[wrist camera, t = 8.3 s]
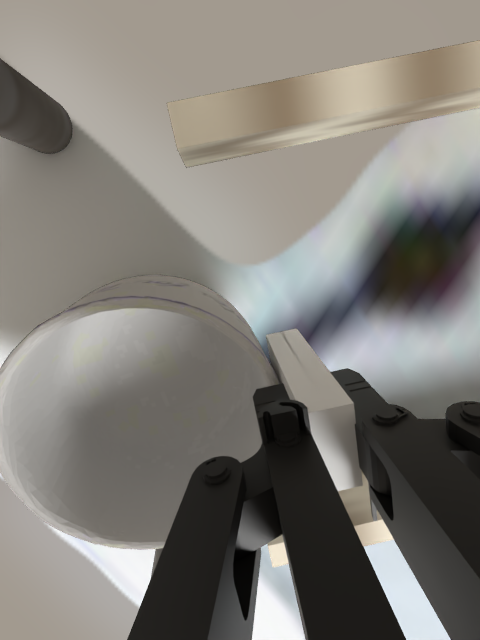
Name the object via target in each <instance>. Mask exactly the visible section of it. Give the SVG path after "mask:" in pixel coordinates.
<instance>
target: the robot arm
mask: <svg viewBox="0 0 480 640" xmlns="http://www.w3.org/2000/svg"><path fill="white" fill-rule="evenodd" d="M266 339H267V345H268V350H269V356H270V361H271V365H272V367H273V369H274V371H275V373H276V375H277V377H278V379H279V381H280V384H277V385H273V386H268V387H263V388H259V389H256V391H255V393H254V395H253V402H254V407H255V411H256V416H257V421H258V426H259V431H260V435H261V440H262V444H261V447H260V449H259V450H258V452H257V453H256V454H254V455H253V456H252V457H250V458H249V459H247V460H245V461H243V462H241V463H240V462H239V461H238V460H237V459H235V458H233V457H230V456H218V457H213V458H211V459H208V460H206V461H204V462H203V463H201V464H200V465H199V466H198V467H197V468H196V469H195V471H194V472H193V474H192V476H191V478H190V481H189V483H188V486H187V488H186V491H185V493H184V496H183V499H182V501H181V504H180V506H179V509H178V511H177V514H176V516H175V519H174V522H173V524H172V527H171V529H170V532H169V534H168V537H167V539H166V542H165V545H164V547H163V550H162V552H161V555H160V557H159V560H158V562H157V565H156V568H155V570H154V573H153V575H152V578H151V580H150V583H149V585H148V588H147V591H146V593H145V596H144V598H143V601H142V603H141V606H140V608H139V611H138V614H137V616H136V619H135V622H134V624H133V627H132V629H131V632H130V634H129V637H128V639H127V640H252V631H253V622H254V613H255V604H256V595H257V586H258V577H259V568H260V558H261V547H262V546H264V545H265V544H267V543H269V542H270V541H272V540H274V539H276V538H277V537H279V536H281V535H282V536H283V540H284V545H285V549H286V553H287V558H288V562H289V567H290V571H291V576H292V580H293V585H294V589H295V594H296V598H297V603H298V607H299V612H300V616H301V621H302V625H303V630H304V634H305V639H306V640H406V638H405V636H404V634H403V632H402V630H401V628H400V625H399V623H398V621H397V619H396V617H395V614H394V612H393V610H392V608H391V606H390V604H389V601H388V599H387V597H386V595H385V593H384V591H383V588H382V586H381V584H380V582H379V580H378V578H377V575H376V573H375V571H374V569H373V567H372V565H371V562H370V560H369V558H368V556H367V554H366V552H365V549H364V547H363V545H362V543H361V541H360V538H359V536H358V534H357V532H356V530H355V528H354V525H353V523H352V521H351V519H350V517H349V515H348V512H347V510H346V508H345V506H344V504H343V502H342V499H341V497H340V495H339V493H338V491H341V490H345V489H350V488H354V487H359V486H363V481H362V472H363V474H364V475H365V477H366V479H367V480H368V485H369V495H370V504H371V514H372V518H373V521H378V520H377V510H378V512H379V514H380V516H381V518H382V519H383V521H384V523H385V525H386V526H387V528H388V530H389V532H390V533H391V535H392V537H393V539H394V540H395V542H396V544H397V546H398V547H399V549H400V551H401V553H402V554H403V556H404V558H405V560H406V561H407V563H408V565H409V567H410V568H411V570H412V572H413V574H414V575H415V577H416V579H417V581H418V582H419V584H420V586H421V588H422V589H423V591H424V593H425V595H426V597H427V598H428V600H429V602H430V604H431V605H432V607H433V609H434V611H435V612H436V614H437V616H438V618H439V619H440V621H441V623H442V625H443V626H444V628H445V630H446V632H447V633H448V635H449V637H450V639H451V640H480V403H479V402H471V401H469V402H460V403H456V404H453V405H451V406H450V407H448V408H447V411H446V419H417V418H416V417H415V416H414V415H413V414H412V413H411V412H410V411H408V410H406V409H405V408H403V407H400V406H397V405H391V404H387V402H386V401H385V400H384V399H383V398H382V397H381V396H380V395H379V394H378V393H377V392H376V391H375V390H374V389H373V388H372V387H371V386H370V384H369V383H368V382H366V381H365V379H364V378H363V377H362V376H361V375H360V374H359V373H357V372H355V371H353V370H350V369H348V368H347V369H342V370H338V371H333V372H330V371H329V370H328V369H327V368H326V366H325V365H324V364H323V362H322V361H321V360H320V358H319V357H318V356H317V355H316V353H315V352H314V351H313V349H312V348H311V347H310V345H309V344H308V343H307V341H306V340H305V339H304V338H303V336H302V335H301V334H300V332H299V331H298V330H297V328H296V329H292V330H287V331H282V332H278V333H273V334H268V335H266ZM361 470H362V472H361Z"/></svg>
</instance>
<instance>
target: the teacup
mask: <svg viewBox="0 0 480 640" xmlns="http://www.w3.org/2000/svg"><path fill="white" fill-rule="evenodd" d="M277 384H280V381H279V379H278V377H277V375H276V373H275V371H274V369H273V367H272V365H271V364H270V362H269V360H268V359H267V358H266V356H265V355H264V352H263V350H262V348H261V346H260V344H259V342H258V340H257V338H256V336H255V335H254V333H253V331H252V329H251V328H250V326H249V325H248V323H247V322H246V320H245V319H244V318H243V317H242V315H241V314H240V313H239V312H238V311H237V310H236V309H235V308H234V306H232V305H231V304H230V303H229V302H228V301H227V300H226V299H224V298H223V297H222V296H220V295H219V294H217V293H216V292H214V291H212V290H211V289H209V288H207V287H205V286H203V285H201V284H198V283H195V282H193V281H190V280H186V279H182V278H178V277H173V276H165V275H141V276H135V277H130V278H125V279H121V280H118V281H115V282H112V283H109V284H107V285H105V286H103V287H101V288H98V289H96V290H95V291H93V292H91V293H89V294H88V295H86V296H84V297H83V298H81V299H80V300H78V301H77V302H76V303H74V304H73V305H71V306H70V307H69V308H67V309H66V310H65V311H64V312H62V313H60V314H58V315H56V316H54V317H52V318H50V319H49V320H47V321H45V322H43V323H42V324H40V325H38V326H37V327H36V328H35V329H34V330H33V331H31V332H30V333H29V334H28V335H27V336H26V337H25V338H24V339H23V340H22V341H21V342H20V343H19V344H18V346H17V347H16V348H15V349H14V350H13V351H12V352H11V353H10V354H9V356H8V357H7V359H6V360H5V361H4V363H3V365H2V367H1V368H0V473H1V475H2V477H3V478H4V480H5V482H6V483H7V484H8V486H9V487H10V488H11V490H12V491H13V492H14V493H15V495H16V496H17V497H18V498H19V499H21V500H22V501H23V503H24V504H25V506H26V507H27V508H28V509H30V510H31V511H32V512H33V513H34V514H35V515H36V516H38V517H39V518H40V519H41V520H42V521H44V522H46V523H47V524H49V525H50V526H52V527H54V528H56V529H58V530H60V531H62V532H63V533H66V534H68V535H71V536H74V537H76V538H79V539H82V540H85V541H88V542H91V543H93V544H100V545H104V546H108V547H114V548H122V549H139V550H143V549H159V548H163V547H164V545H165V542H166V539H167V537H168V534H169V532H170V529H171V527H172V524H173V522H174V519H175V516H176V514H177V511H178V509H179V506H180V504H181V501H182V499H183V496H184V493H185V491H186V488H187V486H188V483H189V481H190V478H191V476H192V474H193V472H194V471H195V469H196V468H197V467H198V466H199V465H200V464H201V463H203V462H204V461H206V460H208V459H211V458H213V457H218V456H230V457H233V458H235V459H237V460H238V461H239V462H240V463H241V462H243V461H245V460H247V459H249V458H250V457H252V456H253V455H254V454H256V453H257V452H258V450H259V449H260V447H261V444H262V440H261V435H260V431H259V426H258V421H257V416H256V411H255V407H254V402H253V395H254V393H255V391H256V389H259V388H263V387H268V386H273V385H277Z"/></svg>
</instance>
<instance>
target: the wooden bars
mask: <svg viewBox="0 0 480 640" xmlns="http://www.w3.org/2000/svg"><path fill="white" fill-rule="evenodd" d="M167 106H168V111H169V116H170V120H171V124H172V129H173V133H174V137H175V141H176V146H177V150H178V152H179V154H180V156H181V158H182V160H183V162H184V165H185V167H186V168H187V167H192V166H197V165H202V164H207V163H212V162H217V161H222V160H227V159H231V158H236V157H241V156H246V155H251V154H256V153H261V152H266V151H270V150H275V149H280V148H285V147H290V146H295V145H299V144H305V143H309V142H315V141H319V140H324V139H329V138H334V137H339V136H344V135H349V134H353V133H359V132H363V131H368V130H373V129H378V128H383V127H388V126H393V125H398V124H402V123H407V122H412V121H417V120H422V119H427V118H432V117H437V116H442V115H447V114H451V113H456V112H461V111H466V110H471V109H476V108H480V40H478V41H473V42H468V43H463V44H458V45H453V46H448V47H443V48H438V49H433V50H428V51H423V52H418V53H413V54H408V55H403V56H398V57H393V58H388V59H383V60H378V61H373V62H368V63H363V64H358V65H353V66H348V67H344V68H338V69H333V70H328V71H323V72H318V73H313V74H308V75H303V76H298V77H293V78H288V79H283V80H278V81H273V82H268V83H263V84H258V85H253V86H248V87H243V88H238V89H233V90H228V91H223V92H218V93H213V94H208V95H203V96H198V97H193V98H188V99H183V100H178V101H173V102H168V103H167ZM71 135H72V124H71V120H70V117H69V115H68V113H67V112H66V110H65V109H64V108H63V107H62V106H61V105H60V104H59V103H58V102H56V101H55V100H54V99H52V98H51V97H50V96H48V95H47V94H46V93H45V92H43V91H42V90H41V89H39V88H38V87H37V86H35V85H34V84H33V83H32V82H30V81H29V80H28V79H26V78H25V77H24V76H22V75H21V74H20V73H19V72H17V71H16V70H15V69H13V68H12V67H11V66H9V65H8V64H7V63H5V62H4V61H3V60H2V59H0V136H1V137H4V138H7V139H9V140H12V141H14V142H17V143H19V144H22V145H24V146H27V147H29V148H32V149H34V150H37V151H39V152H42V153H48V154H51V153H56V152H59V151H61V150H62V149H64V148H65V147H66V146H67V145H68V143H69V141H70V139H71ZM361 472H362V470H361ZM362 481H363V486H359V487H354V488H350V489H345V490H341V491H338V493H339V495H340V497H341V499H342V502H343V504H344V506H345V508H346V510H347V512H348V515H349V517H350V519H351V521H352V523H353V525H354V528H355V530H356V532H357V534H358V536H359V538H360V541H361V543H362V545H363V546H368V545H372V544H376V543H381V542H385V541H389V540H394V539H393V537H392V535H391V533H390V532H389V530H388V528H387V526H386V525H385V523H384V521H383V519H382V518H381V516H380V514H379V512H378V510H377V520H378V521H373V518H372V514H371V504H370V495H369V485H368V480H367V479H366V477H365V475H364V474H363V472H362ZM267 544H268V549H269V553H270V557H271V562H272V566H273V567H278V566H282V565H286V564H289V562H288V558H287V553H286V549H285V545H284V540H283V536H282V535H281V536H279V537H277V538H276V539H274V540H272V541H270V542H269V543H267ZM162 550H163V548H159V549H156V551H155V557H154V563H153V569H152V575H153V573H154V570H155V568H156V565H157V562H158V560H159V557H160V555H161V552H162ZM152 575H151V578H152Z"/></svg>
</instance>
